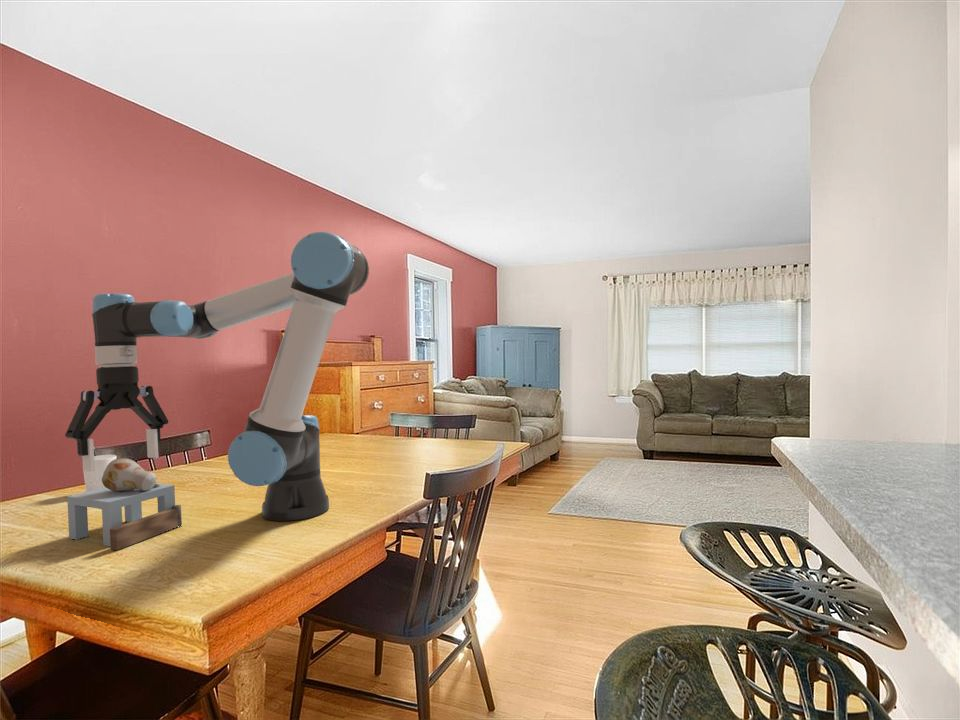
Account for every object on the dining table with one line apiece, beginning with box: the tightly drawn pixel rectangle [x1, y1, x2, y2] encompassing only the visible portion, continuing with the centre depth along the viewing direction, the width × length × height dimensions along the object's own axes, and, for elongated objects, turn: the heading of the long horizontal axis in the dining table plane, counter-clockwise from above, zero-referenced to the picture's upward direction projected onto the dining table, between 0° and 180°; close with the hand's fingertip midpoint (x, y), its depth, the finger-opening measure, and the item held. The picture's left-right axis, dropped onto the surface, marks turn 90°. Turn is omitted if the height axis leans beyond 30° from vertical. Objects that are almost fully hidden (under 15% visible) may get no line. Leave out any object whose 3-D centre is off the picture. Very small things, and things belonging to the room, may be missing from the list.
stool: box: [66, 483, 176, 548], centre depth 116 cm, size 14×14×9 cm
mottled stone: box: [102, 457, 161, 491], centre depth 116 cm, size 8×10×10 cm
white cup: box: [82, 454, 117, 492], centre depth 151 cm, size 8×8×10 cm
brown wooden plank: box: [110, 504, 183, 551], centre depth 112 cm, size 15×2×5 cm, turn 162°
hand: (122, 464), depth 116 cm, fingers open, 13 cm apart
